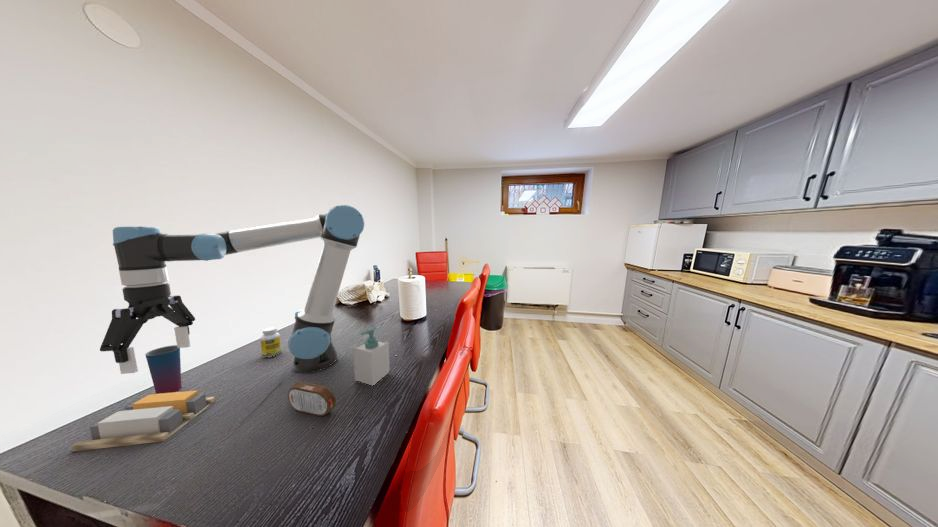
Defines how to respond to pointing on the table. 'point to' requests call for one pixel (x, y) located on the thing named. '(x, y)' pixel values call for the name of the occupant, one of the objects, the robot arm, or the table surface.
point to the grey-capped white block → (137, 423)
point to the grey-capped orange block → (172, 401)
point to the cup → (165, 368)
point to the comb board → (137, 438)
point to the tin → (311, 398)
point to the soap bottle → (371, 359)
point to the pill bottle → (270, 342)
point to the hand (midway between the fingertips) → (159, 358)
